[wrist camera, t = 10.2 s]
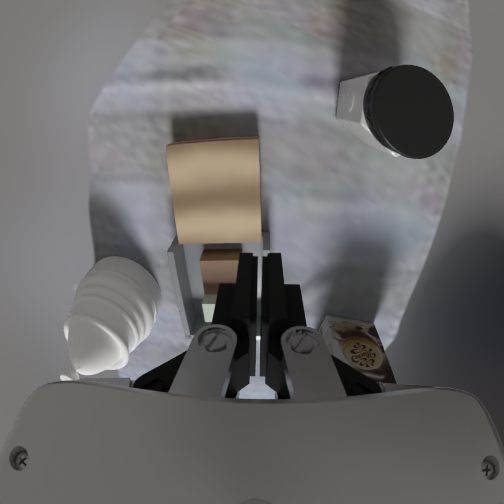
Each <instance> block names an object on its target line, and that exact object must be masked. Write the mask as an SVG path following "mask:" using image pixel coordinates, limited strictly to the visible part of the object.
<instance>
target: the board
mask: <svg viewBox="0 0 504 504" xmlns="http://www.w3.org/2000/svg"><path fill="white" fill-rule="evenodd" d="M166 152H167V161H168V170H169V178H170V186H171V194H172V201H173V209H174V216H175V222H176V229H177V235H178V242H179V244H208V243H256V242H262V227H261V191H260V159H259V136H253V137H230V138H213V139H200V140H189V141H179V142H173V143H170V144H168V145H166Z"/></svg>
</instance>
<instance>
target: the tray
mask: <svg viewBox="0 0 504 504" xmlns="http://www.w3.org/2000/svg"><path fill="white" fill-rule="evenodd" d="M204 249H242V252H248V253H253V256H258V286H257V329H256V340H260V328H261V285H262V256H267V254H268V253H270V232H262V242H256V243H208V244H179V242H178V235H176V237H175V239H174V240H173V242H172V244H171V246H170V247H169V249H168V251H167V256H168V262H169V267H170V272H171V276H172V281H173V286H174V290H175V295H176V299H177V304H178V308H179V312H180V317H181V321H182V325H183V329H184V333H185V337H186V339H193V337H194V335H195V334H196V332H197V331H198V330H200V329H201V328H203V327H205V326H207V325H211V323H212V322H205V318H204V312H203V307H202V302H203V298H204V295H205V294H204V288H203V282H202V275H201V269H200V262H199V261H200V258H201V255H202V252H203V250H204Z"/></svg>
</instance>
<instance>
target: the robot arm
mask: <svg viewBox="0 0 504 504" xmlns="http://www.w3.org/2000/svg"><path fill="white" fill-rule="evenodd" d="M257 286H258V256H253V253H248V252H240V254H239V262H238V269H237V277H236V283H220V284H219V288H218V293H217V298H216V303H215V308H214V313H213V318H212V323H211V325H207V326H205V327H203V328H201V329H200V330H198V331H197V332H196V334H195V335H194V337H193V339H192V341H191V343H190V346H189V348H188V350H187V351H185V352H184V353H182V354H180V355H178V356H176V357H175V358H173V359H171V360H169V361H167V362H166V363H164V364H162V365H160V366H158V367H156V368H155V369H153V370H151V371H149V372H147V373H145V374H143V375H142V376H140V377H139V378H138V379H137V380H134V381H131V379H130V378H106V379H105V378H100V379H99V378H98V379H97V378H93V379H92V378H89V379H88V378H85V379H79V380H65V381H57V382H52V383H48V384H45V385H42V386H41V387H38V388H37V389H36V390H35V391H34V392H33V393H32V394H31V395H30V396H29V397H28V399H27V400H26V402H25V403H24V405H23V406H22V408H21V410H20V411H19V413H18V415H17V417H16V419H15V421H14V423H13V425H12V427H11V429H10V431H9V433H8V436H7V438H6V441H5V443H4V446H3V449H2V451H1V454H0V504H504V449H503V446H502V443H501V441H500V438H499V436H498V433H497V430H496V428H495V426H494V424H493V422H492V419H491V417H490V416H489V414H488V412H487V410H486V409H485V407H484V405H483V404H482V403H481V401H480V400H479V399H478V398H477V397H475V396H474V395H472V394H471V393H468V392H466V391H462V390H457V389H452V388H439V387H434V386H428V385H407V384H392V383H385V384H384V386H381V385H378V383H376V382H375V381H374V380H373V379H371V378H369V377H368V376H366V375H364V374H363V373H361V372H359V371H358V370H356V369H354V368H353V367H351V366H349V365H348V364H346V363H345V362H343V361H341V360H340V359H338V358H336V357H335V356H333V355H332V354H330V352H329V350H328V347H327V345H326V342H325V340H324V338H323V336H322V335H321V333H319V332H318V331H317V330H315V329H313V328H311V327H307V325H306V319H305V313H304V307H303V301H302V295H301V289H300V285H299V284H284V278H283V268H282V259H281V253H268V254H267V256H262V285H261V328H260V376H265V384H267V385H268V386H269V387H270V388H272V389H273V390H274V391H275V399H239V392H240V391H239V390H241V389H242V388H244V387H245V386H246V385H248V384H249V379H250V376H255V366H256V329H257Z"/></svg>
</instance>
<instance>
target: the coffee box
mask: <svg viewBox="0 0 504 504" xmlns="http://www.w3.org/2000/svg"><path fill="white" fill-rule="evenodd" d="M318 332H319V333H321V335H322V336H323V338H324V340H325V342H326V345H327V347H328V350H329V352H330V354H332V355H333V356H335V357H336V358H338V359H340V360H341V361H343V362H345V363H346V364H348V365H349V366H351V367H353V368H354V369H356V370H358V371H359V372H361V373H363V374H364V375H366V376H368V377H369V378H371V379H373V380H374V381H375V382H376V383H378V385H381V386H384V384H385V383H392V384H397V383H396V381H395V378H394V375H393V372H392V369H391V367H390V364H389V361H388V359H387V356H386V353H385V351H384V348H383V345H382V343H381V340H380V338H379V335H378V333H377V330H376V328H375V325H374V323H371V322H364V321H359V320H353V319H347V318H342V317H336V316H331V315H326V316H325V318H324V320H323V322H322V324H321V326H320V328H319V330H318Z"/></svg>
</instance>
